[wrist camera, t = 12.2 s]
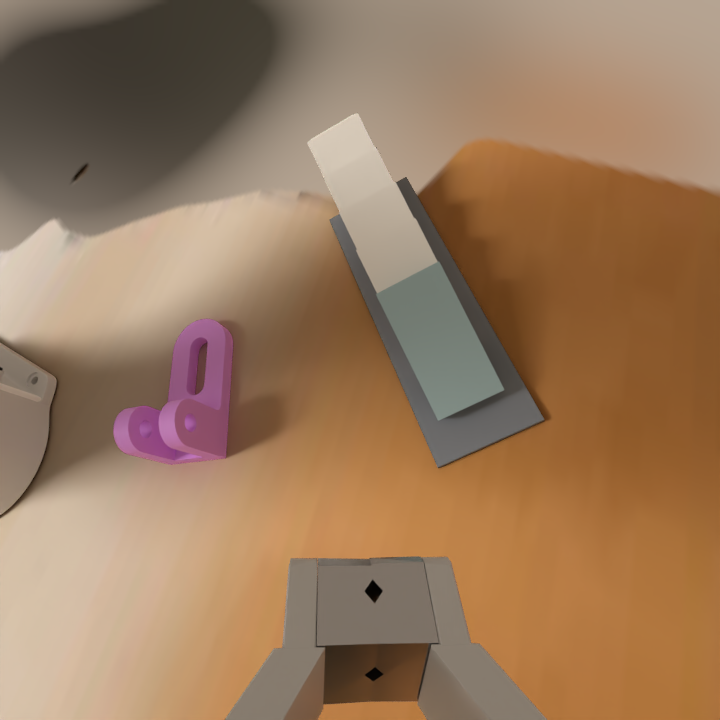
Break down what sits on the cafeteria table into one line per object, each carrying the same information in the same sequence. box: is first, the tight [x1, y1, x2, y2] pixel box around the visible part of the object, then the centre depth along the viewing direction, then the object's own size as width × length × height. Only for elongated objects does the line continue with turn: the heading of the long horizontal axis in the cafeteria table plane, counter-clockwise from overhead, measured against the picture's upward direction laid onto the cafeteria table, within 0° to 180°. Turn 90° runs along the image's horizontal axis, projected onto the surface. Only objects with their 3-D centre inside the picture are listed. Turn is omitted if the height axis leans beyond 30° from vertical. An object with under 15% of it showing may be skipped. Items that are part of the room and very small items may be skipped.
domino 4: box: [356, 218, 437, 293], centre depth 37 cm, size 2×5×10 cm
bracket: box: [113, 319, 233, 465], centre depth 42 cm, size 13×6×7 cm, turn 3°
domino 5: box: [376, 261, 504, 421], centre depth 36 cm, size 2×5×10 cm
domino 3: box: [339, 182, 414, 249], centre depth 39 cm, size 2×5×10 cm
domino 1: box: [307, 113, 375, 177], centre depth 43 cm, size 2×5×10 cm
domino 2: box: [324, 148, 394, 212], centre depth 41 cm, size 2×5×10 cm
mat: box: [330, 177, 544, 468], centre depth 40 cm, size 25×8×1 cm, turn 21°
